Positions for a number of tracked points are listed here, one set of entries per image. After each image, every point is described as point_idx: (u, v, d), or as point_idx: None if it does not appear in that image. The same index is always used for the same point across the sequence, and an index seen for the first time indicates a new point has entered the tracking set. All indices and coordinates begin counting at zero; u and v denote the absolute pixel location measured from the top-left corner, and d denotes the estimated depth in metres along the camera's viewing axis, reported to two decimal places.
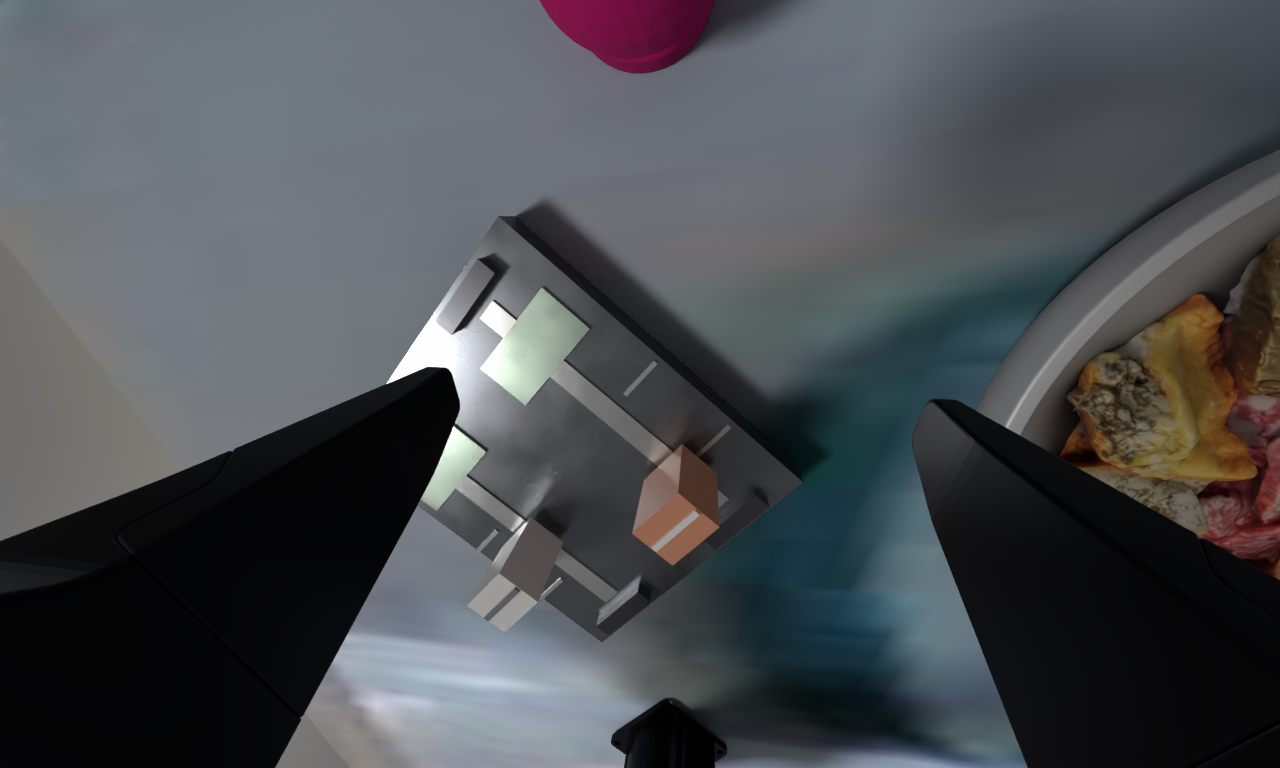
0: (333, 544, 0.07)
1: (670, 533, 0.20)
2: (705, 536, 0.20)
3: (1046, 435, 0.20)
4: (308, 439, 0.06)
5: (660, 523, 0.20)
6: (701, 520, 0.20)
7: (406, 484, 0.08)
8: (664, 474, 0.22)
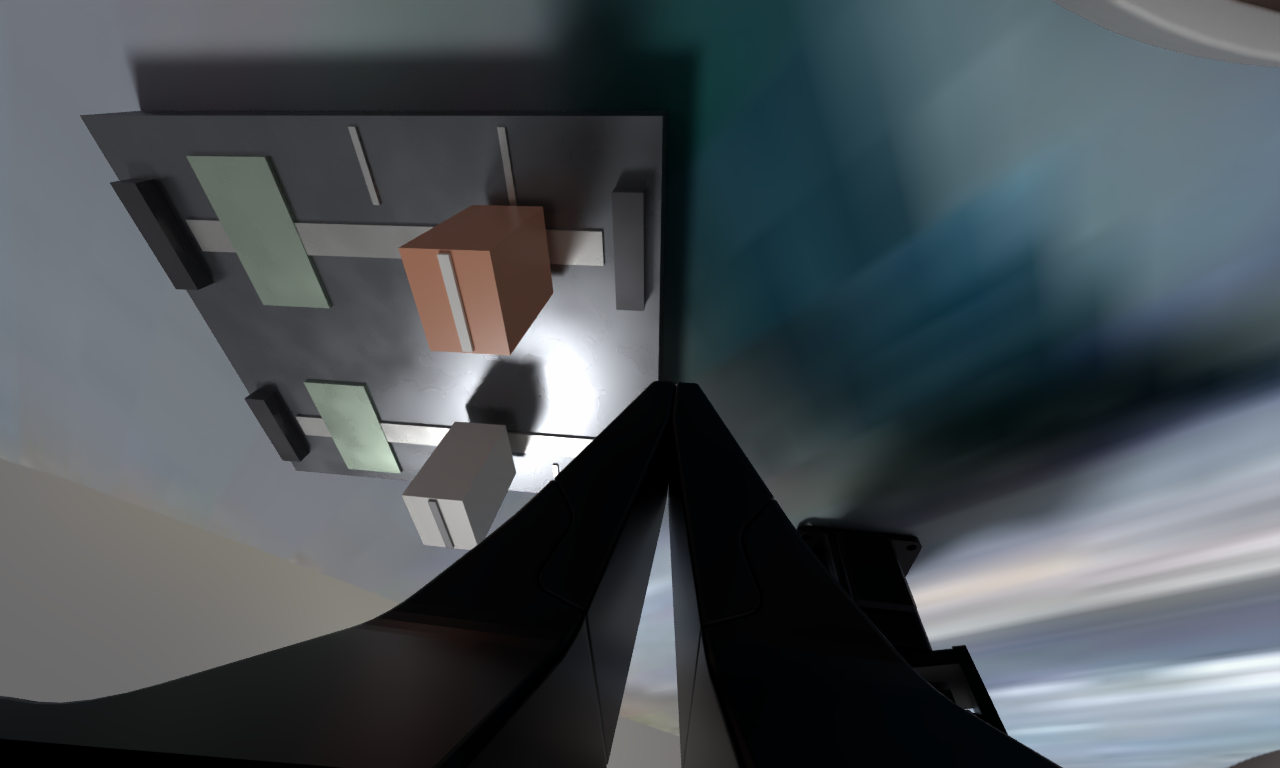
0: (635, 578, 0.06)
1: (458, 313, 0.12)
2: (492, 281, 0.12)
3: None
4: (623, 466, 0.06)
5: (435, 310, 0.12)
6: (461, 260, 0.11)
7: (659, 508, 0.07)
8: None
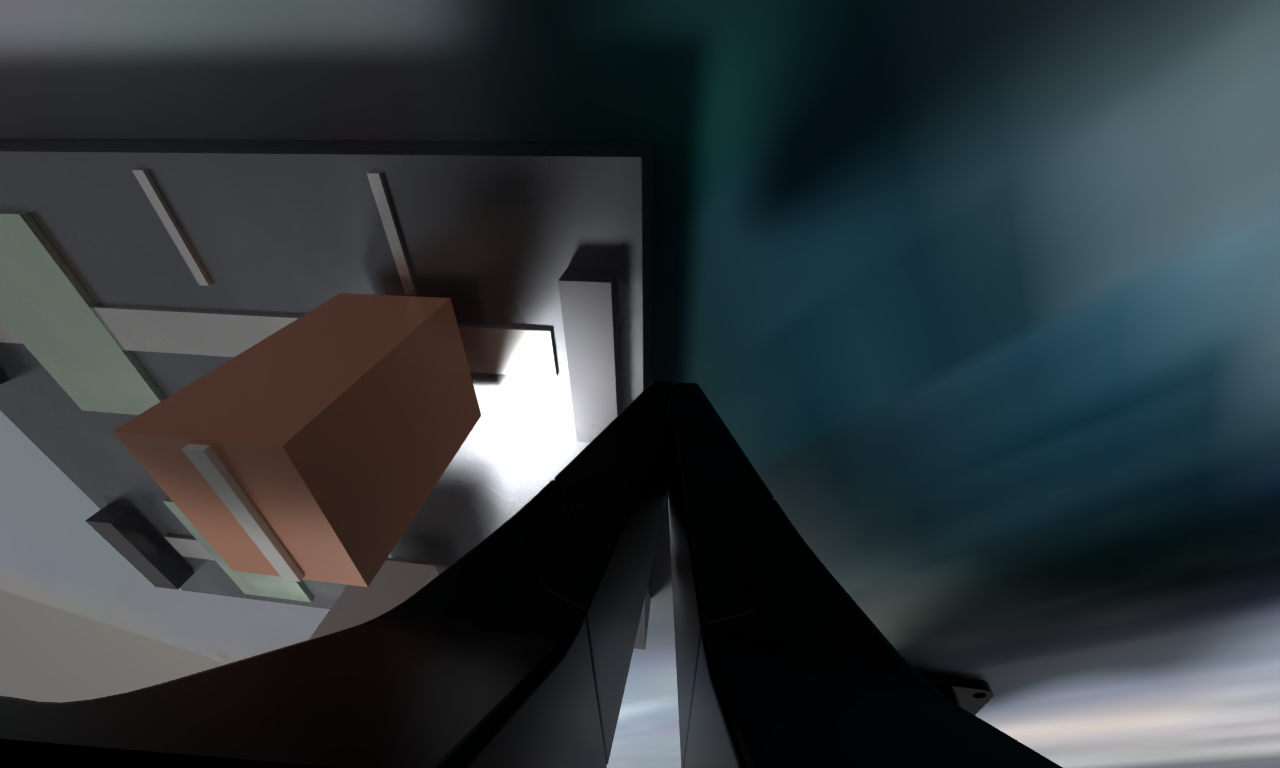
0: (636, 578, 0.06)
1: (259, 528, 0.07)
2: (305, 489, 0.06)
3: None
4: (623, 466, 0.06)
5: (219, 522, 0.07)
6: (236, 457, 0.06)
7: (660, 508, 0.07)
8: None
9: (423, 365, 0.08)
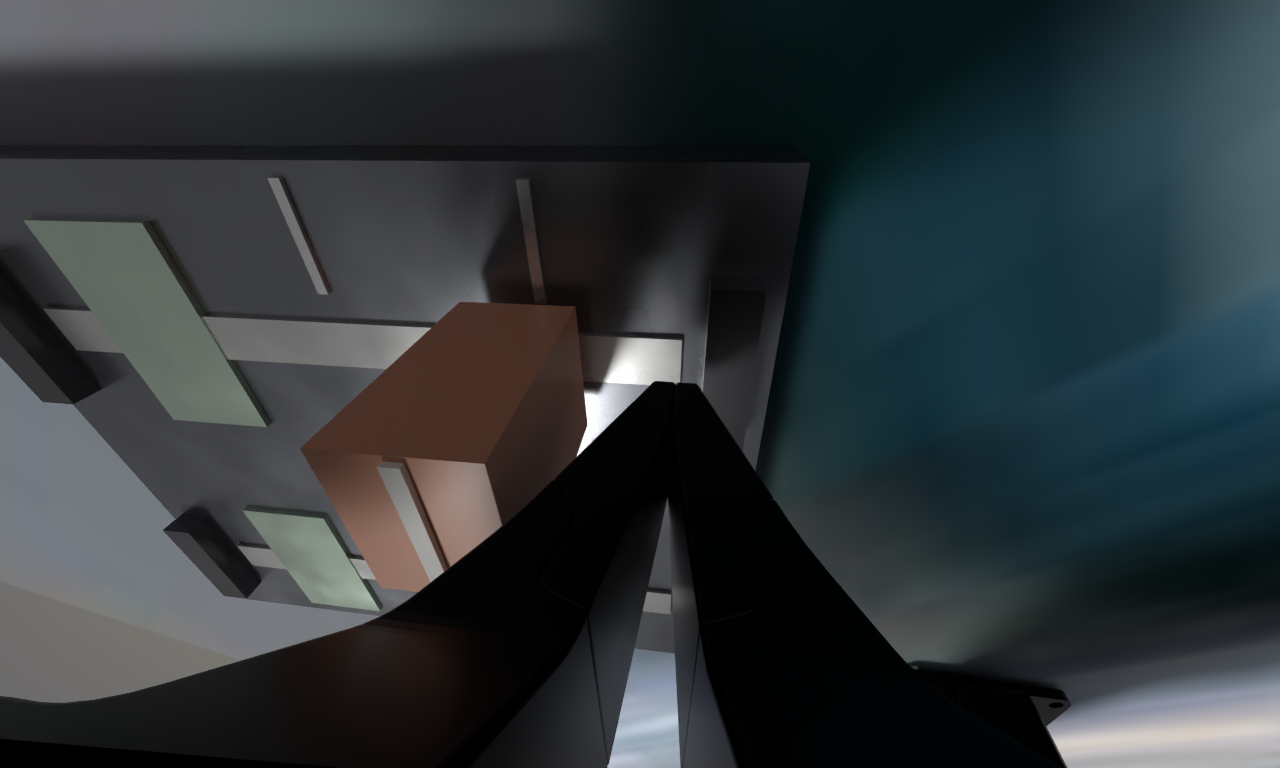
0: (637, 578, 0.06)
1: (427, 546, 0.07)
2: (492, 507, 0.06)
3: None
4: (624, 466, 0.06)
5: (384, 540, 0.07)
6: (428, 475, 0.06)
7: (660, 508, 0.07)
8: None
9: (559, 376, 0.08)
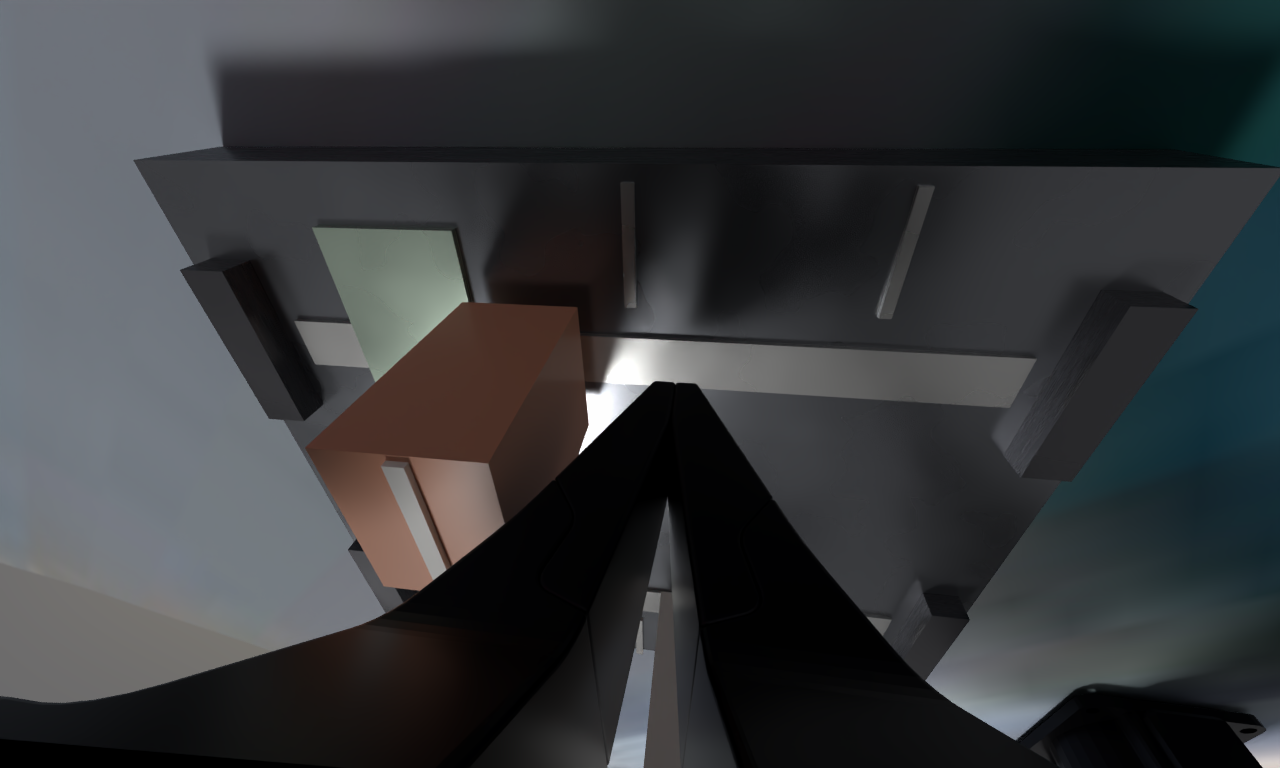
0: (637, 578, 0.06)
1: (430, 544, 0.07)
2: (495, 506, 0.06)
3: None
4: (624, 466, 0.06)
5: (388, 539, 0.07)
6: (432, 474, 0.06)
7: (660, 508, 0.07)
8: None
9: (561, 376, 0.08)
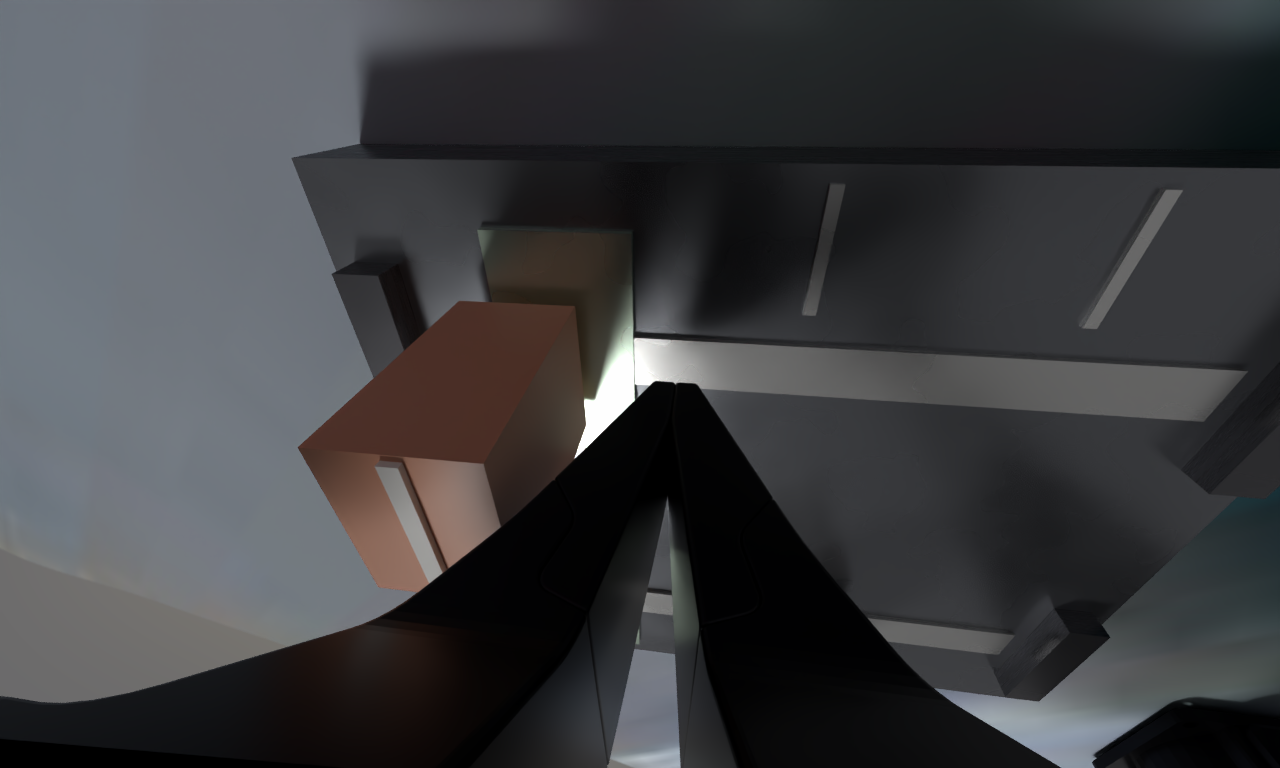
0: (637, 578, 0.06)
1: (425, 546, 0.06)
2: (490, 507, 0.06)
3: None
4: (624, 466, 0.06)
5: (382, 539, 0.07)
6: (427, 475, 0.06)
7: (660, 508, 0.07)
8: None
9: (559, 375, 0.08)
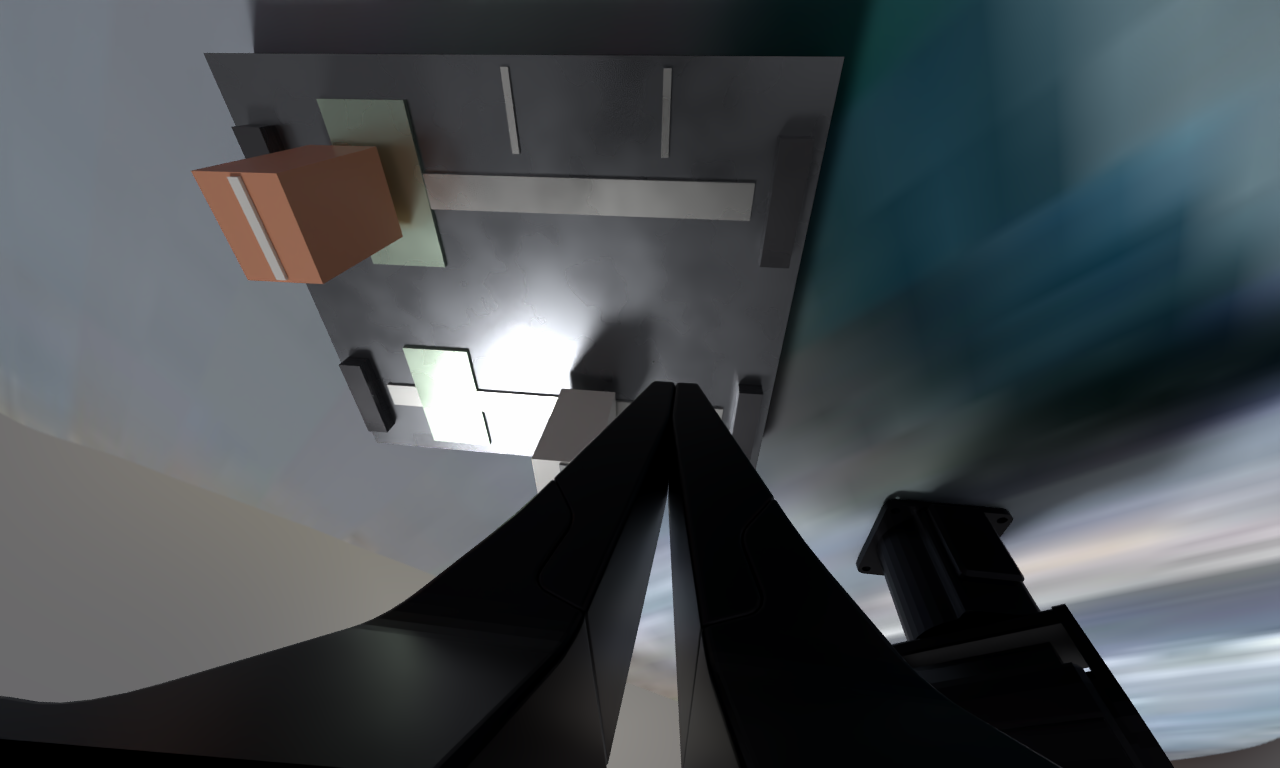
0: (636, 578, 0.06)
1: (264, 239, 0.13)
2: (287, 205, 0.12)
3: None
4: (623, 466, 0.06)
5: (242, 237, 0.13)
6: (253, 184, 0.12)
7: (660, 508, 0.07)
8: None
9: (357, 178, 0.14)
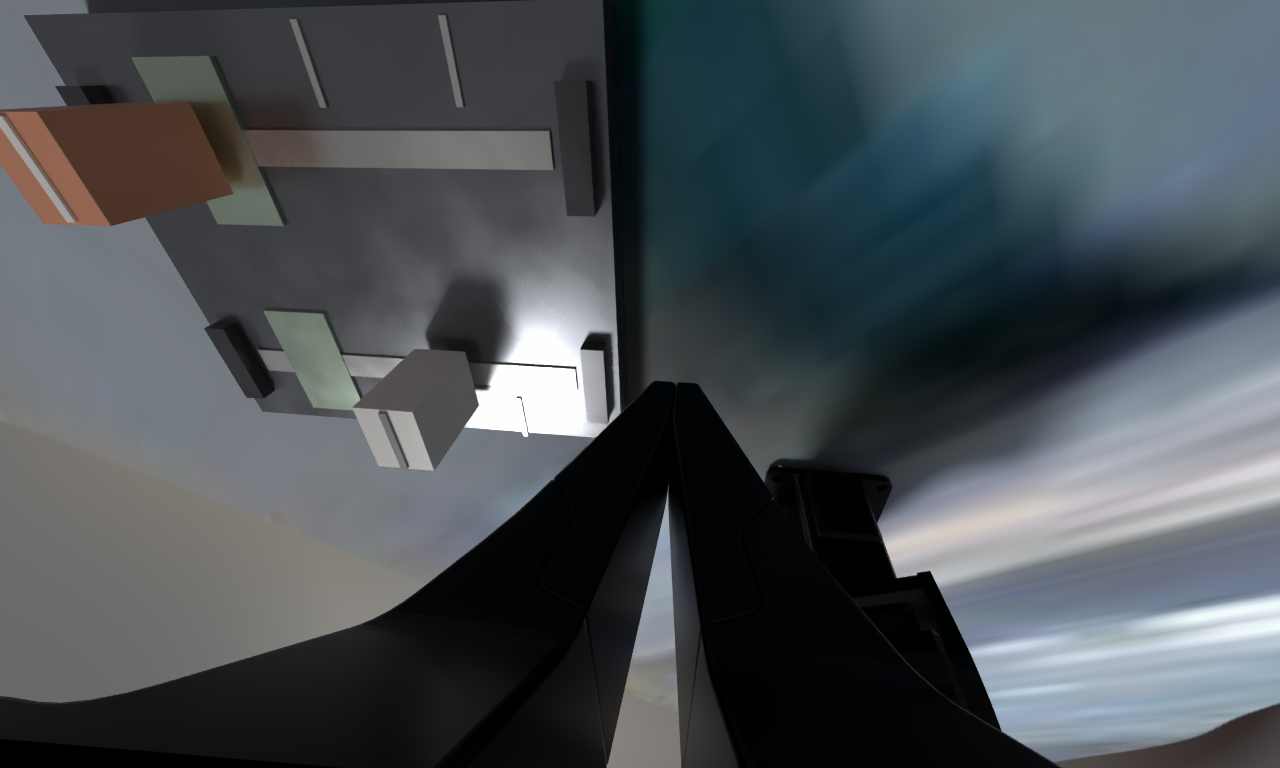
0: (636, 578, 0.06)
1: (45, 180, 0.13)
2: (56, 144, 0.13)
3: None
4: (623, 466, 0.06)
5: (26, 179, 0.13)
6: (19, 123, 0.12)
7: (660, 508, 0.07)
8: None
9: (161, 129, 0.15)
